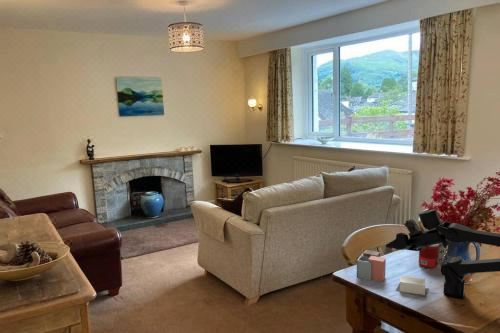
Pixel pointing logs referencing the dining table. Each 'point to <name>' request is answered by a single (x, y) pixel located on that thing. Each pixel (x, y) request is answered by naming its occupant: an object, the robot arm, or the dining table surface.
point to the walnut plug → (371, 253)
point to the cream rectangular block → (412, 285)
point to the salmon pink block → (377, 268)
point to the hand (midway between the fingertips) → (391, 246)
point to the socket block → (363, 267)
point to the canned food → (429, 257)
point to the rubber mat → (413, 293)
